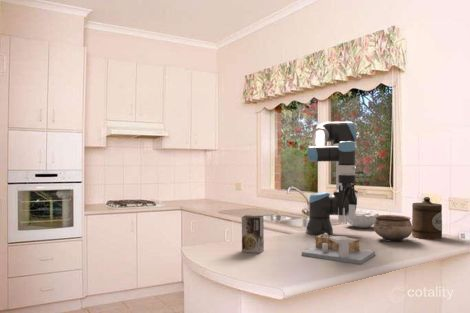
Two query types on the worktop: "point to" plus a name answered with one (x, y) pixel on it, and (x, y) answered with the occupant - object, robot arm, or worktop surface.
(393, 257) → the worktop surface
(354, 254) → the pintle base
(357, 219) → the bowl
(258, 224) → the coffee box
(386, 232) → the cooking pot
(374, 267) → the worktop surface
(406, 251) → the worktop surface
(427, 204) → the wooden container
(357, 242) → the link
